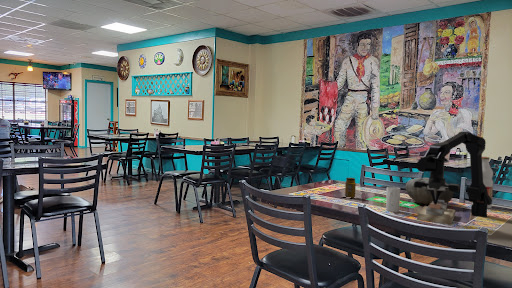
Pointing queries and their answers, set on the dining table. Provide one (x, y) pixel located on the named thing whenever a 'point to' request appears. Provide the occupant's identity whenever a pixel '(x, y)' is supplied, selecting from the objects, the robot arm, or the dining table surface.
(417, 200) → the gourd
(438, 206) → the salmon brown square block
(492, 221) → the dining table surface
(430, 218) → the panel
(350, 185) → the condiment
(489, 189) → the fruit juice
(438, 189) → the robot arm
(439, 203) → the dark grey square block
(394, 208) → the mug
